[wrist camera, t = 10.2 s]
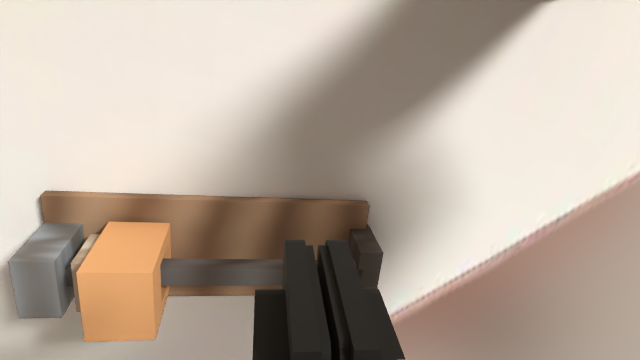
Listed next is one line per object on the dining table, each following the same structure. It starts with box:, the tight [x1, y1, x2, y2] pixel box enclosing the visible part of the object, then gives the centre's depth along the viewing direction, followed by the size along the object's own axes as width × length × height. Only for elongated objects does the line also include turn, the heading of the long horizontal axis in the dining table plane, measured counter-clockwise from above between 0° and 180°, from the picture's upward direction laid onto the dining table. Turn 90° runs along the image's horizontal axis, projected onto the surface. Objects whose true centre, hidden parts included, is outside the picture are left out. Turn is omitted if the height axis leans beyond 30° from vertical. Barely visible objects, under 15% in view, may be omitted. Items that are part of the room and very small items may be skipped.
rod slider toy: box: [8, 191, 383, 318], centre depth 38 cm, size 28×10×7 cm, turn 84°
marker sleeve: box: [76, 222, 171, 342], centre depth 35 cm, size 5×6×8 cm
